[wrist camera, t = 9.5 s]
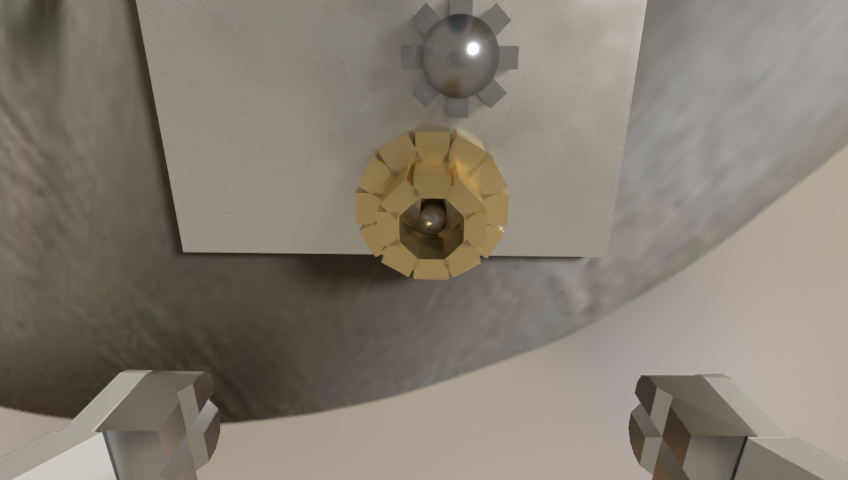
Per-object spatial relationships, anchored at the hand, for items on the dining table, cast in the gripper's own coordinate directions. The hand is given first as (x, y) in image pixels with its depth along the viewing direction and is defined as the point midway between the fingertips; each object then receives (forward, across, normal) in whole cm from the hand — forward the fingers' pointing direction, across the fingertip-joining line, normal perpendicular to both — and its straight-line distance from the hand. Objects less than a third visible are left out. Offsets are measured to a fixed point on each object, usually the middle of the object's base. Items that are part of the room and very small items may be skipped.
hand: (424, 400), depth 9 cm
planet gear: (+15, 0, 0) cm, 15 cm away
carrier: (+16, +2, -7) cm, 18 cm away
